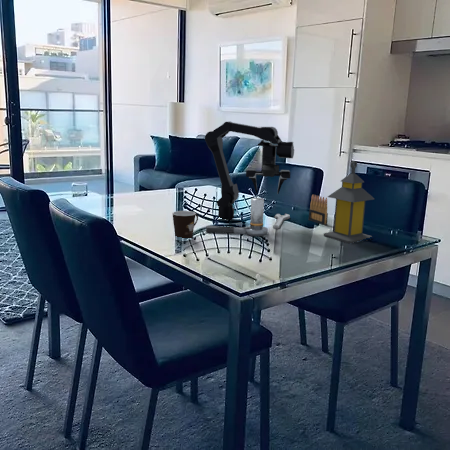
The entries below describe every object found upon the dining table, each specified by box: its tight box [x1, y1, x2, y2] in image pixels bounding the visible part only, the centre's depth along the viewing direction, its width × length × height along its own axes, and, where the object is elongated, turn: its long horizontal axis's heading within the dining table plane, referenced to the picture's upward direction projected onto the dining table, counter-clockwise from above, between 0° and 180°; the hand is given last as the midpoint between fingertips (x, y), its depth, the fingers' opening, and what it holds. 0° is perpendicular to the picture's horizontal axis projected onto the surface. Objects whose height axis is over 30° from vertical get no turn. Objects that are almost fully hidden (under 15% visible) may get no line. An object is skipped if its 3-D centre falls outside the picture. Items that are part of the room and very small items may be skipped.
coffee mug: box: [172, 210, 199, 239], centre depth 186 cm, size 12×9×10 cm
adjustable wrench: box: [272, 213, 291, 230], centre depth 217 cm, size 25×6×2 cm, turn 161°
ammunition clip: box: [308, 194, 329, 226], centre depth 218 cm, size 11×2×12 cm, turn 30°
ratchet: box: [205, 225, 269, 237], centre depth 197 cm, size 24×9×2 cm, turn 86°
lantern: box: [323, 160, 375, 244], centre depth 192 cm, size 14×14×30 cm
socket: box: [249, 197, 265, 230], centre depth 195 cm, size 5×5×12 cm
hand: (267, 193), depth 212 cm, fingers open, 9 cm apart
